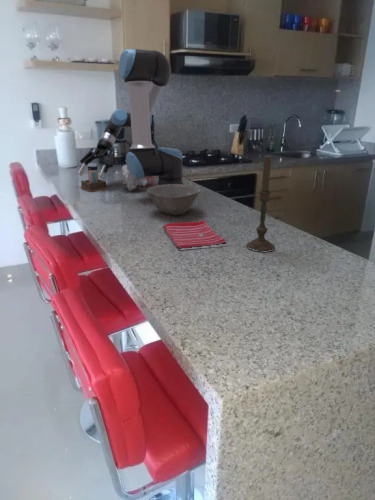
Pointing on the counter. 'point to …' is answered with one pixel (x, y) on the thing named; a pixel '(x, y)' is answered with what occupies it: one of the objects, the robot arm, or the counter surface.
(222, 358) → the counter surface
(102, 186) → the walnut can stand
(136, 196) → the counter surface
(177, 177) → the robot arm
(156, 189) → the ceramic bowl
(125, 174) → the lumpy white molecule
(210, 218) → the counter surface
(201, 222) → the dish towel
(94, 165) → the spice jar
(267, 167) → the candlestick holder
